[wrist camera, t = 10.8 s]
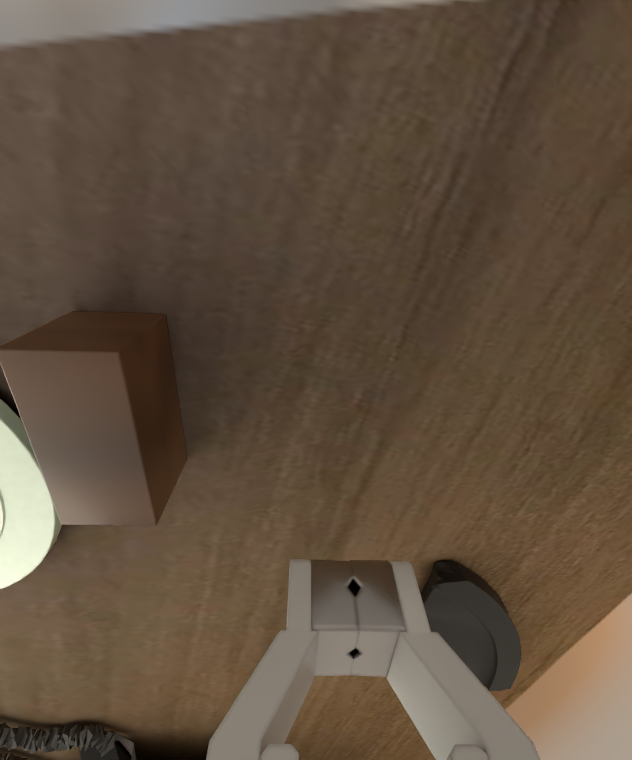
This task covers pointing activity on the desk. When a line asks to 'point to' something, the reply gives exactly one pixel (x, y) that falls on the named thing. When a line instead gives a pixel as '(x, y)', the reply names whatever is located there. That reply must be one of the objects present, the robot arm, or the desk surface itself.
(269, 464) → the desk surface
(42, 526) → the plate
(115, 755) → the office phone
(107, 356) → the walnut block
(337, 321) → the desk surface
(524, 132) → the desk surface
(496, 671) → the fan shaped piece
